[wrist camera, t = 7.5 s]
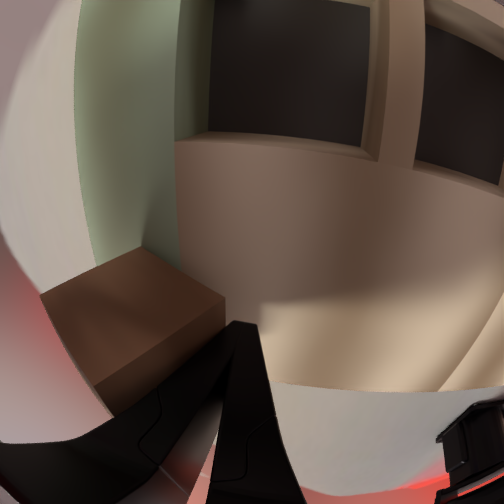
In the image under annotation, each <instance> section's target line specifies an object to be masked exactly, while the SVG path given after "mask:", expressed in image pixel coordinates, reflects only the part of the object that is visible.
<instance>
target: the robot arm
mask: <svg viewBox="0 0 504 504" xmlns="http://www.w3.org/2000/svg"><path fill="white" fill-rule="evenodd" d="M218 429H219V430H218ZM217 432H218V436H217V442H216V449H215V455H214V460H213V466H212V472H211V478H210V484H209V490H208V495H207V499H206V503H205V504H307V502H306V500H305V498H304V496H303V493H302V491H301V488H300V486H299V484H298V481H297V479H296V476H295V474H294V471H293V469H292V466H291V464H290V462H289V459H288V456H287V453H286V450H285V447H284V444H283V441H282V437H281V433H280V429H279V425H278V420H277V417H276V411H275V407H274V402H273V397H272V393H271V388H270V383H269V378H268V374H267V369H266V364H265V359H264V354H263V350H262V345H261V340H260V335H259V330H258V326H257V324H255V323H249V322H243V321H238V320H233V321H231V322H230V323H229V324H228V325H227V326H226V327H225V328H224V329H222V330H221V331H220V332H219V333H218V334H217V335H216V336H215V337H213V338H212V339H211V340H210V341H209V342H208V343H207V344H205V345H204V346H203V347H202V348H201V349H200V350H199V351H197V352H196V353H195V354H194V355H193V356H192V357H191V358H189V359H188V360H187V361H186V362H185V363H184V364H182V365H181V366H180V367H179V368H178V369H177V370H175V371H174V372H173V373H172V374H171V375H169V376H168V377H167V378H166V379H165V380H164V381H162V382H161V383H160V384H159V385H158V386H157V388H154V389H153V390H151V391H150V392H149V393H148V394H147V395H145V396H144V397H143V398H141V399H140V400H139V401H137V402H136V403H135V404H134V405H132V406H131V407H129V408H128V409H126V410H125V411H123V412H121V413H120V414H118V415H117V416H115V417H113V418H112V419H110V420H108V421H107V422H105V423H103V424H102V425H100V426H98V427H97V428H95V429H93V430H91V431H90V432H88V433H86V434H84V435H82V436H80V437H78V438H75V439H71V440H67V441H60V442H46V443H27V444H9V443H3V442H1V441H0V504H187V501H188V499H189V496H190V495H191V492H192V490H193V488H194V485H195V483H196V481H197V478H198V476H199V474H200V472H201V469H202V467H203V465H204V462H205V460H206V458H207V455H208V453H209V451H210V448H211V446H212V444H213V441H214V439H215V436H216V434H217ZM442 442H443V450H444V458H445V467H446V472H447V473H449V477H450V487H448V488H446V489H441V490H438V491H437V493H436V499H435V503H434V504H504V476H502V477H500V478H498V479H497V480H495V481H493V482H491V483H489V484H486V485H484V486H482V487H480V488H478V489H476V490H474V491H471V492H469V493H467V494H464V495H462V496H459V497H458V494H459V493H461V492H464V491H466V490H469V489H471V488H473V487H475V486H477V485H480V484H482V483H484V482H486V481H488V480H490V479H492V478H494V477H496V476H498V475H499V474H501V473H503V472H504V401H499V402H494V403H488V404H482V405H476V406H472V407H471V408H469V409H468V410H467V411H466V412H465V413H464V414H463V415H462V416H461V417H460V418H459V419H458V420H456V421H455V422H454V423H453V424H452V425H451V426H450V427H449V428H448V429H446V430H445V431H444V432H443V433H442V434H441V435H439V436H438V437H437V438H436V443H442Z"/></svg>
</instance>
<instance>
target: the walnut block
mask: <svg viewBox="0 0 504 504" xmlns="http://www.w3.org/2000/svg"><path fill="white" fill-rule="evenodd" d="M40 298H41V301H42V303H43V305H44V307H45V310H46V312H47V314H48V316H49V318H50V320H51V322H52V324H53V327H54V329H55V330H56V333H57V334H58V336H59V338H60V340H61V342H62V344H63V346H64V348H65V350H66V351H67V353H68V355H69V357H70V358H71V360H72V362H73V363H74V365H75V367H76V369H77V370H78V372H79V373H80V375H81V377H82V378H83V380H84V381H85V383H86V384H87V385H88V387H89V388H90V390H91V391H92V393H93V394H94V395H95V396H96V398H97V399H98V401H99V402H100V403H101V405H102V406H103V407H104V409H105V410H106V411H107V412H108V414H109V415H110V416H111V417H112V418H113V417H115V416H117V415H118V414H120V413H121V412H123V411H125V410H126V409H128V408H129V407H131V406H132V405H134V404H135V403H136V402H137V401H139V400H140V399H141V398H143V397H144V396H145V395H147V394H148V393H149V392H150V391H151V390H153V389H154V388H157V386H158V385H159V384H160V383H161V382H162V381H164V380H165V379H166V378H167V377H168V376H169V375H171V374H172V373H173V372H174V371H175V370H177V369H178V368H179V367H180V366H181V365H182V364H184V363H185V362H186V361H187V360H188V359H189V358H191V357H192V356H193V355H194V354H195V353H196V352H197V351H199V350H200V349H201V348H202V347H203V346H204V345H205V344H207V343H208V342H209V341H210V340H211V339H212V338H213V337H215V336H216V335H217V334H218V333H219V332H220V331H221V330H222V329H224V328H225V327H226V301H225V297H224V296H222V295H220V294H218V293H217V292H215V291H213V290H212V289H210V288H208V287H206V286H205V285H203V284H201V283H200V282H198V281H196V280H195V279H193V278H191V277H190V276H188V275H186V274H185V273H183V272H181V271H180V270H178V269H176V268H175V267H173V266H171V265H170V264H168V263H167V262H165V261H163V260H162V259H160V258H159V257H157V256H155V255H154V254H152V253H151V252H149V251H147V250H146V249H144V248H143V247H141V246H140V247H138V248H136V249H133V250H131V251H129V252H127V253H125V254H123V255H120V256H118V257H116V258H114V259H112V260H110V261H107V262H105V263H103V264H101V265H99V266H97V267H95V268H93V269H91V270H89V271H87V272H84V273H82V274H80V275H78V276H76V277H74V278H72V279H70V280H68V281H66V282H64V283H62V284H60V285H58V286H56V287H54V288H52V289H50V290H49V291H47V292H45V293H43V294H41V295H40Z"/></svg>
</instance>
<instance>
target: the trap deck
mask: <svg viewBox="0 0 504 504" xmlns="http://www.w3.org/2000/svg"><path fill="white" fill-rule="evenodd" d="M74 121H75V138H76V151H77V161H78V170H79V178H80V185H81V192H82V199H83V205H84V210H85V216H86V221H87V226H88V231H89V236H90V240H91V245H92V249H93V253H94V257H95V261H96V265H97V266H99V265H101V264H103V263H105V262H107V261H110V260H112V259H114V258H116V257H118V256H120V255H123V254H125V253H127V252H129V251H131V250H133V249H136V248H138V247H140V246H141V247H143V248H144V249H146V250H147V251H149V252H151V253H152V254H154V255H155V256H157V257H159V258H160V259H162V260H163V261H165V262H167V263H168V264H170V265H171V266H173V267H175V268H176V269H178V270H180V271H181V272H183V273H185V274H186V275H188V276H190V277H191V278H193V279H195V280H196V281H198V282H200V283H201V284H203V285H205V286H206V287H208V288H210V289H212V290H213V291H215V292H217V293H218V294H220V295H222V296H224V297H225V301H226V326H227V325H228V324H229V323H230V322H231V321H233V320H238V321H243V322H249V323H255V324H257V326H258V330H259V335H260V340H261V345H262V350H263V354H264V359H265V364H266V369H267V374H268V378H269V381H275V382H281V383H288V384H295V385H302V386H311V387H320V388H329V389H341V390H354V391H373V392H437V391H455V390H467V389H477V388H486V387H494V386H501V385H504V6H502V5H501V4H499V3H497V2H496V1H494V0H82V4H81V10H80V16H79V23H78V31H77V41H76V52H75V69H74Z"/></svg>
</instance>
